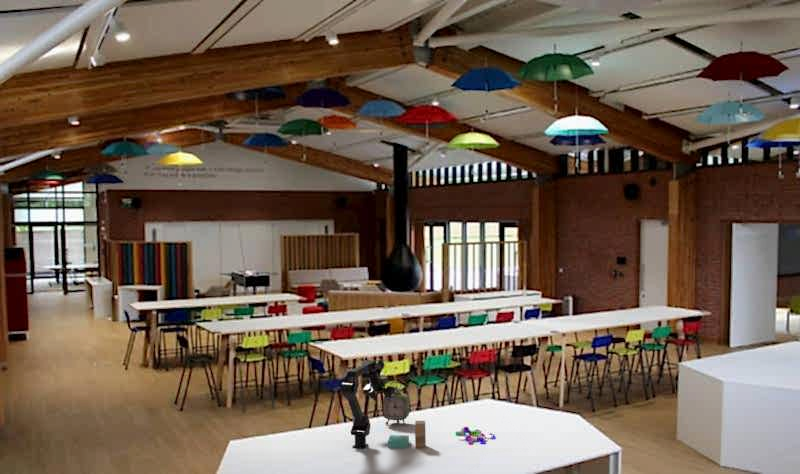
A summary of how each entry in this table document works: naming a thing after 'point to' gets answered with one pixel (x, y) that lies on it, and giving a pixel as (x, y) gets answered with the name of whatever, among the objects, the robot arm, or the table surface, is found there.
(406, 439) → the teal base block
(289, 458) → the table surface
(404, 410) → the tabletop clock
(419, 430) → the walnut pillar
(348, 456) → the table surface
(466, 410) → the table surface
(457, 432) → the building block set
